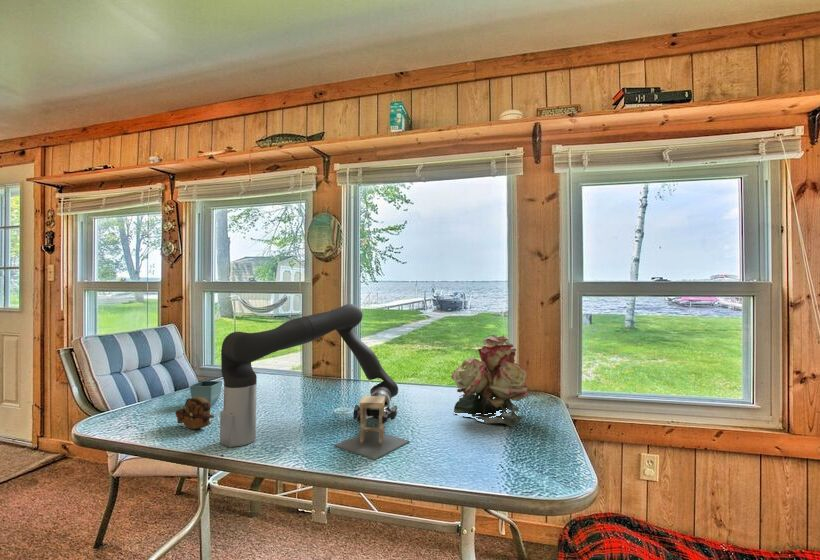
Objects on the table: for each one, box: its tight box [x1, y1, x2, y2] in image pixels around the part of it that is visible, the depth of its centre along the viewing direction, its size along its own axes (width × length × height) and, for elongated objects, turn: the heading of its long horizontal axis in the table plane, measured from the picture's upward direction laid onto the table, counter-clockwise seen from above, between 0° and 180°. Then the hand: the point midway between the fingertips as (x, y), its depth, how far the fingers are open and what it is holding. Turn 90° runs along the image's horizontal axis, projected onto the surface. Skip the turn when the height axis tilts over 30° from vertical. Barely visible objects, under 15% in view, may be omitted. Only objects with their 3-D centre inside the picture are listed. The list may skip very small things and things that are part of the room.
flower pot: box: [189, 380, 223, 407], centre depth 156 cm, size 9×9×9 cm
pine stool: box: [359, 395, 385, 444], centre depth 117 cm, size 7×7×12 cm
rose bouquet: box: [450, 334, 530, 428], centre depth 146 cm, size 26×29×30 cm
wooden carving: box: [175, 397, 215, 430], centre depth 130 cm, size 16×5×10 cm, turn 70°
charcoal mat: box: [334, 431, 411, 461], centre depth 117 cm, size 16×16×1 cm
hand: (371, 419), depth 115 cm, fingers closed on pine stool, 6 cm apart
